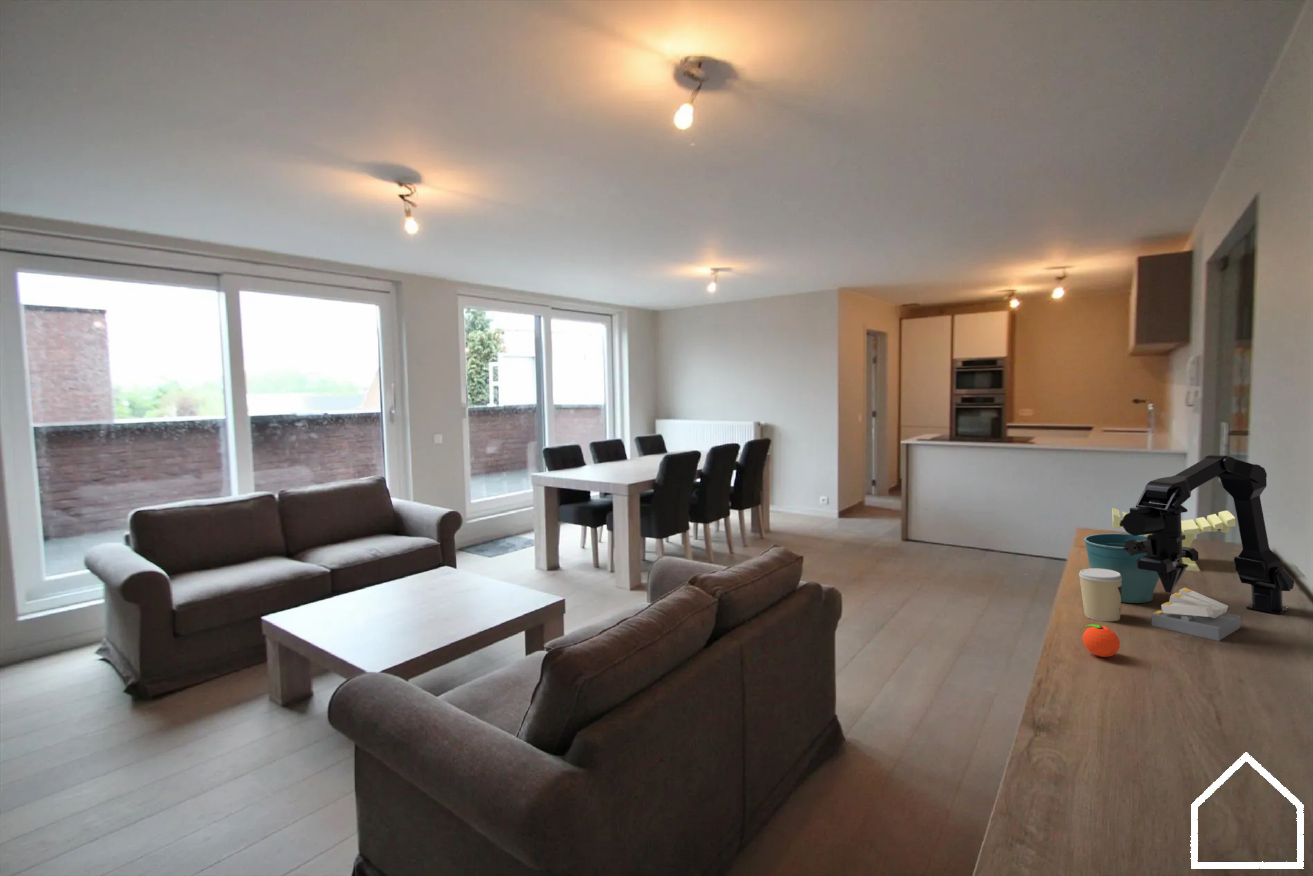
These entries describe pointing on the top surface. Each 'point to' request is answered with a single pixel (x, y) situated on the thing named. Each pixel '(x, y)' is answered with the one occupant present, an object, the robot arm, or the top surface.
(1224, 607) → the block
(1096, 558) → the flower pot
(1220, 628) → the console
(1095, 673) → the top surface
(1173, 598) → the rocker middle
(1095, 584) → the coffee cup
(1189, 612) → the block
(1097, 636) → the clementine
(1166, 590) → the robot arm
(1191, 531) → the slatted curved stool
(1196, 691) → the top surface
